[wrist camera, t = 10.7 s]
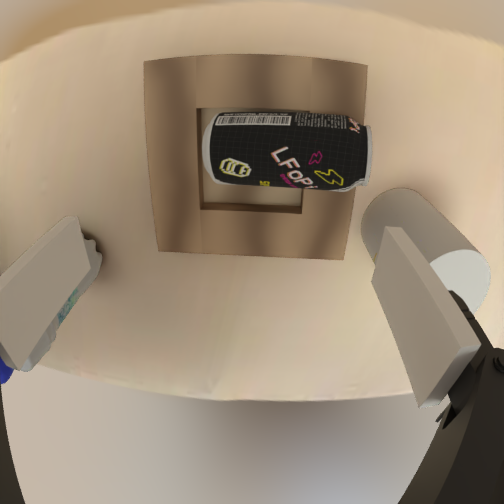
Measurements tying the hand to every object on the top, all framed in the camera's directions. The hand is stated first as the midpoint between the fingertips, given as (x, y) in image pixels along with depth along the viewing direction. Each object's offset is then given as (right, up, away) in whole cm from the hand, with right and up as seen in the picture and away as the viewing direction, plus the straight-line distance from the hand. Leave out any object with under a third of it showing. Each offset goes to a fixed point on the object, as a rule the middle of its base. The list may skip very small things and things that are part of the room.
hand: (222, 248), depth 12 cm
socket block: (+1, +8, +14) cm, 17 cm away
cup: (+16, +3, +17) cm, 24 cm away
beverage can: (-2, +8, +11) cm, 14 cm away
